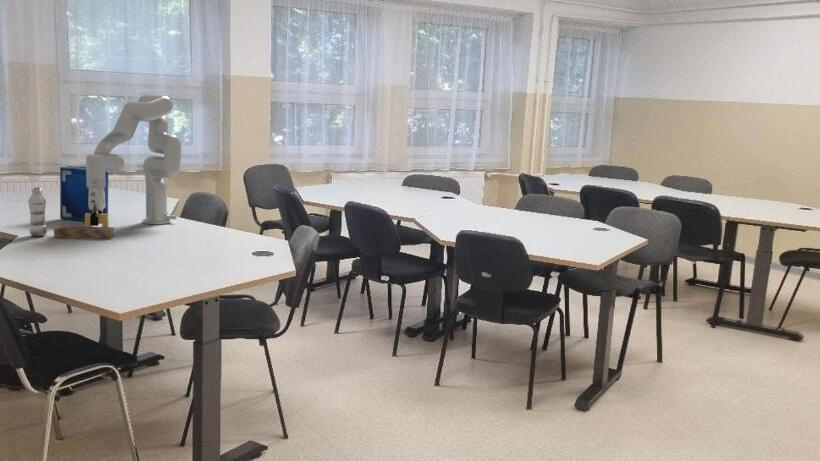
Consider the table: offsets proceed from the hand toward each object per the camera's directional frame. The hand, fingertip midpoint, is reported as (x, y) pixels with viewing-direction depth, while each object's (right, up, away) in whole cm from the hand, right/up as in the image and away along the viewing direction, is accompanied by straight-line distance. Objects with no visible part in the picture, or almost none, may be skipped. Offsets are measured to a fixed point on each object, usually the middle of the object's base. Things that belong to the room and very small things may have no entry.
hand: (96, 223), depth 313 cm
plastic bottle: (-18, -5, -14) cm, 24 cm away
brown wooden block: (0, -6, -11) cm, 13 cm away
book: (-17, +2, +26) cm, 31 cm away
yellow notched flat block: (0, -4, +1) cm, 4 cm away
